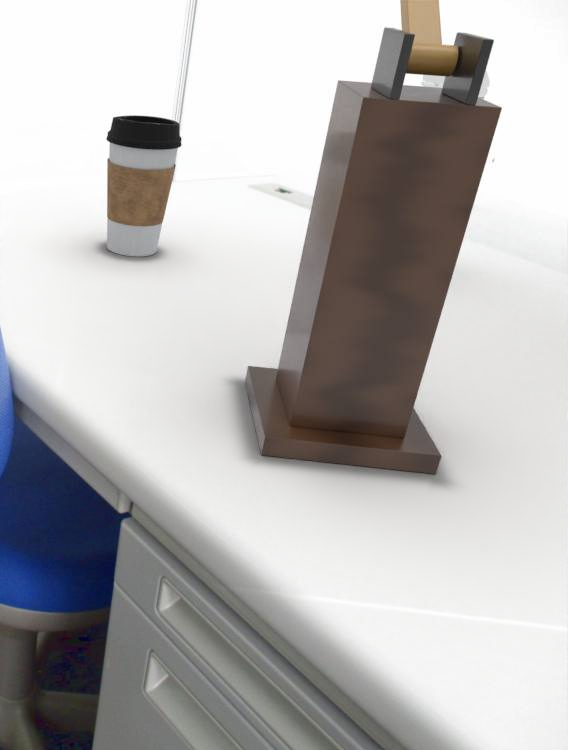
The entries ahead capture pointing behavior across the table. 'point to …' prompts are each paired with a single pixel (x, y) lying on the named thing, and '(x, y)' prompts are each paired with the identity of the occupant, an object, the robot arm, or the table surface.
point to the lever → (427, 39)
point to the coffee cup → (139, 181)
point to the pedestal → (377, 264)
